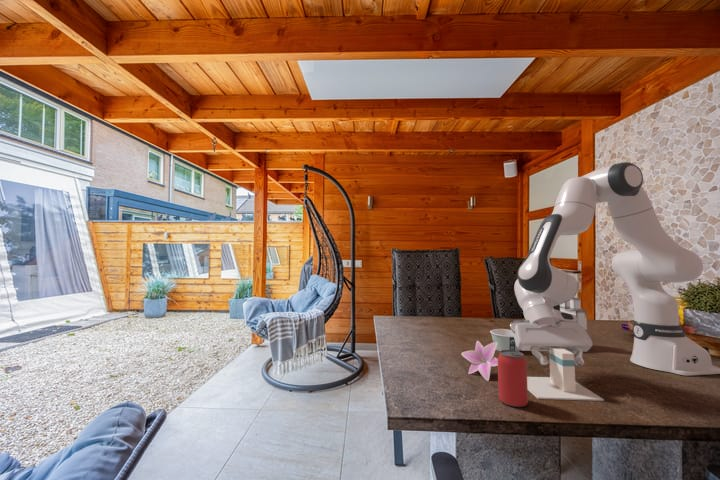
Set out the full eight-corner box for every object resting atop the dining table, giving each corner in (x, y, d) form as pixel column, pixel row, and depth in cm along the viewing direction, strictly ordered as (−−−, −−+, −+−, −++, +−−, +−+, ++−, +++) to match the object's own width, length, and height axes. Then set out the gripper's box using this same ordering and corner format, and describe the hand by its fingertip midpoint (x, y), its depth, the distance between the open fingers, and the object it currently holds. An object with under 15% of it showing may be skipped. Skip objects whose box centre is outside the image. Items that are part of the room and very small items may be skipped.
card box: (561, 382, 87) (559, 346, 88) (575, 392, 81) (574, 353, 82) (550, 382, 88) (548, 346, 88) (563, 391, 81) (562, 353, 82)
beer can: (527, 410, 72) (525, 358, 73) (496, 403, 75) (495, 354, 76) (528, 400, 77) (527, 351, 78) (500, 393, 81) (499, 347, 82)
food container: (486, 344, 128) (486, 328, 128) (516, 345, 126) (516, 329, 127) (496, 353, 116) (495, 335, 116) (529, 354, 115) (528, 336, 115)
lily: (459, 369, 102) (453, 347, 99) (489, 353, 104) (484, 331, 100) (483, 395, 91) (477, 371, 87) (515, 377, 93) (511, 353, 89)
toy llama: (535, 345, 126) (533, 296, 127) (571, 343, 129) (569, 295, 130) (549, 351, 118) (547, 299, 120) (587, 348, 122) (585, 298, 123)
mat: (569, 379, 91) (569, 377, 91) (603, 400, 77) (603, 399, 77) (513, 377, 92) (513, 376, 92) (537, 399, 78) (537, 397, 78)
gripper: (510, 314, 93) (527, 357, 83) (581, 315, 92) (606, 359, 81) (505, 326, 97) (520, 368, 87) (572, 327, 96) (595, 370, 85)
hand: (562, 364), depth 84 cm, fingers open, 8 cm apart
